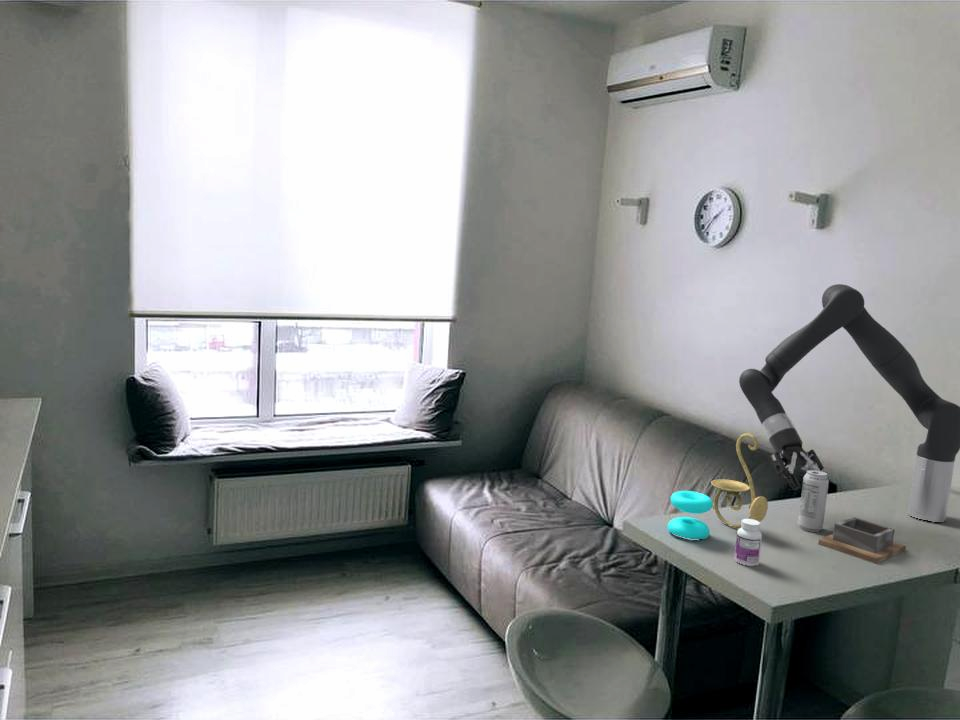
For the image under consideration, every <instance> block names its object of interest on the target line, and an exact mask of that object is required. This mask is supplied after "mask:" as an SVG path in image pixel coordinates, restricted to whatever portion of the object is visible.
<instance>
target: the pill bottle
mask: <svg viewBox="0 0 960 720" xmlns="http://www.w3.org/2000/svg"><path fill="white" fill-rule="evenodd" d="M740 523H741V527H742V528H737V532H736V541H735V549H734V561H735V562H736V563H737V562H738V563H737V564H739V563H740V564H739V565H741V564H743V565H742V566H745V565H747V566H746V567H755V565H756V566H758V565H759V564H760V563H759V562H760V557H761V556H760V555H761V554H760V553H761V549H762V548H761V547H762V538H763V535H762V532H761V531H760V528H761V522H759V521H756V520H753V519H749V518H742V519H741V522H740Z"/></svg>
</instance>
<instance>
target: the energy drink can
mask: <svg viewBox="0 0 960 720" xmlns="http://www.w3.org/2000/svg"><path fill="white" fill-rule="evenodd" d="M829 481H830V480H829V478H828V473H826V472H825V471H823V470H821V471H818V470H813V469H811V470H807V471H806V473H805V474H804V476H803V478H802V486H801V497H800V502H799V510H798V518H797V524H798V526H799V528H800V529H801V530H804V531H805V532H811V533H819V532H820V531H821V530H822V529H823V528H824V521H825V514H826V513H825V512H826V505H827V498H828V491H829V484H830V483H829Z"/></svg>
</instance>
